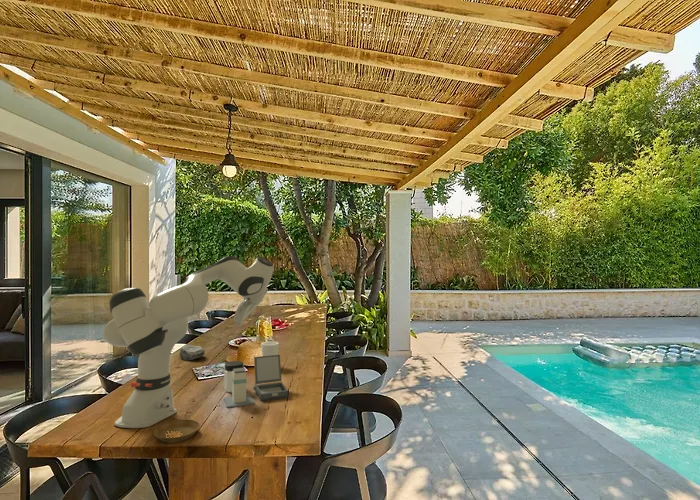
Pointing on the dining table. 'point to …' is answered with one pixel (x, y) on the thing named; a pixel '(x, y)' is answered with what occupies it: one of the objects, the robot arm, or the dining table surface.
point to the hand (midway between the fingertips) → (243, 320)
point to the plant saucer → (183, 426)
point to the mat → (230, 402)
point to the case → (271, 391)
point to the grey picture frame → (267, 369)
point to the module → (238, 385)
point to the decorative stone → (191, 352)
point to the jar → (230, 373)
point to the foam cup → (269, 348)
